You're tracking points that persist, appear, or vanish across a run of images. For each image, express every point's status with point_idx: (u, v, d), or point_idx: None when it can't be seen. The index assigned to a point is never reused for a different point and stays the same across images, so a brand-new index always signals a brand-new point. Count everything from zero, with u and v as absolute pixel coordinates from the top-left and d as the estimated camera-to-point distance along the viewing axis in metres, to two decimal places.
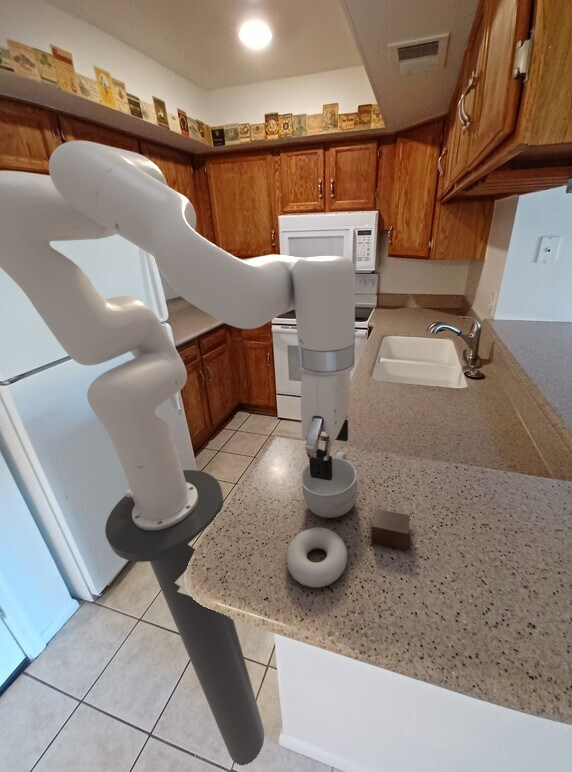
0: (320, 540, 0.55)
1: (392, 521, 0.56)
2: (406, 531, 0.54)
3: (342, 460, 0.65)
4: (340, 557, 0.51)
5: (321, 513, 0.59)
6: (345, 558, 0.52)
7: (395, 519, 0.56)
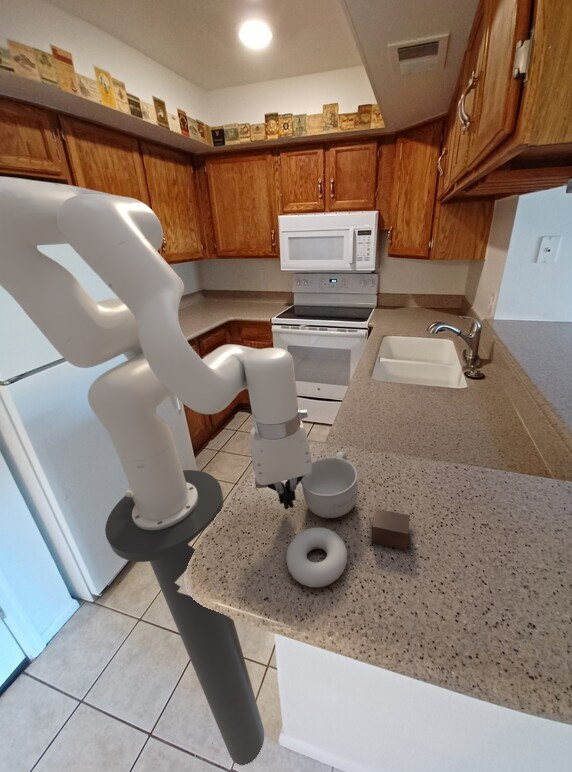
0: (320, 540, 0.55)
1: (392, 521, 0.56)
2: (406, 531, 0.54)
3: (342, 460, 0.65)
4: (340, 557, 0.51)
5: (321, 513, 0.59)
6: (345, 558, 0.52)
7: (395, 519, 0.56)
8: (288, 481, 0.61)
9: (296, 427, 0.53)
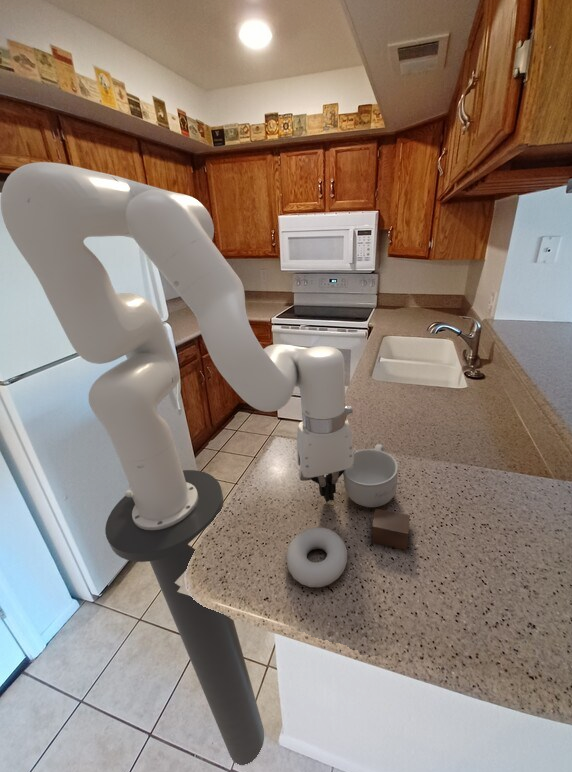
0: (320, 540, 0.55)
1: (392, 521, 0.56)
2: (406, 531, 0.54)
3: (381, 452, 0.67)
4: (340, 557, 0.51)
5: (363, 502, 0.61)
6: (345, 558, 0.52)
7: (395, 519, 0.56)
8: (329, 474, 0.63)
9: (343, 422, 0.56)
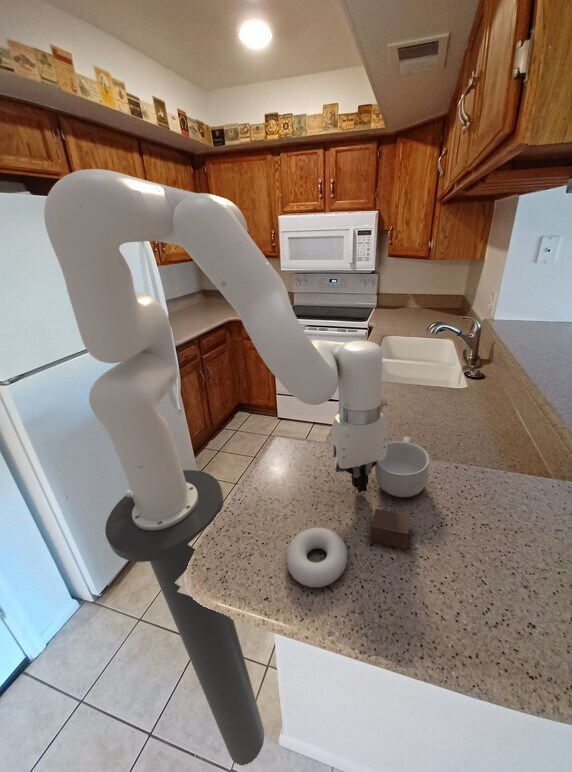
0: (320, 540, 0.55)
1: (392, 521, 0.56)
2: (406, 531, 0.54)
3: (411, 444, 0.69)
4: (340, 557, 0.51)
5: (396, 492, 0.63)
6: (345, 558, 0.52)
7: (395, 519, 0.56)
8: (362, 466, 0.65)
9: (379, 414, 0.57)
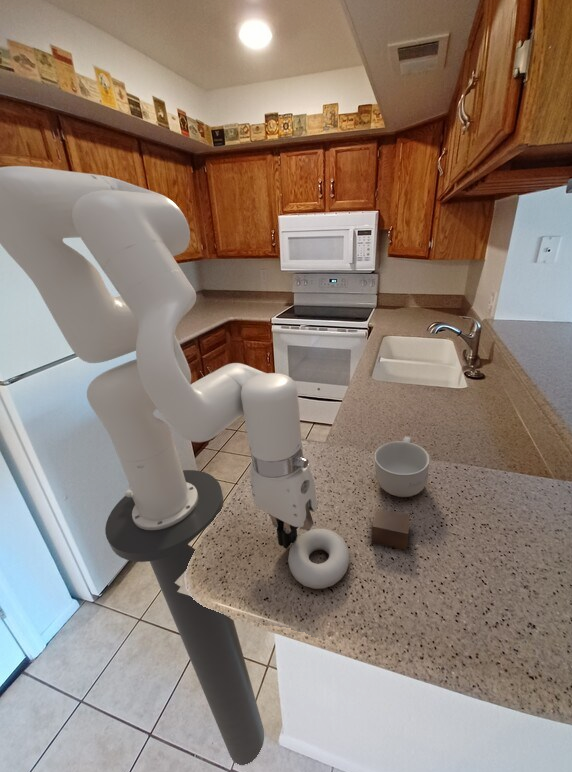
0: (322, 541, 0.54)
1: (392, 521, 0.56)
2: (406, 531, 0.54)
3: (411, 444, 0.69)
4: (342, 558, 0.51)
5: (397, 492, 0.63)
6: (347, 559, 0.52)
7: (395, 519, 0.56)
8: None
9: (281, 472, 0.45)
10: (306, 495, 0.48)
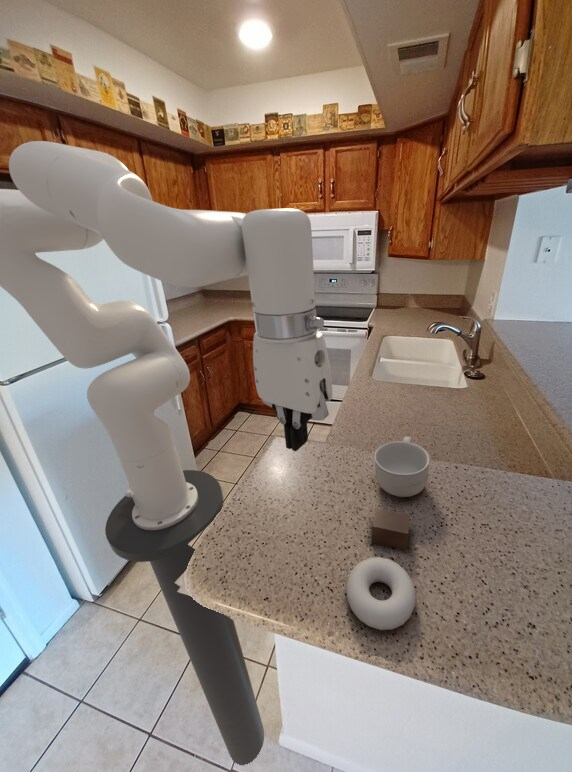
0: (382, 573, 0.49)
1: (392, 521, 0.56)
2: (406, 531, 0.54)
3: (411, 444, 0.69)
4: (409, 593, 0.46)
5: (397, 492, 0.63)
6: (414, 594, 0.46)
7: (395, 519, 0.56)
8: None
9: (291, 332, 0.37)
10: (320, 370, 0.40)
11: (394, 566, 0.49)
